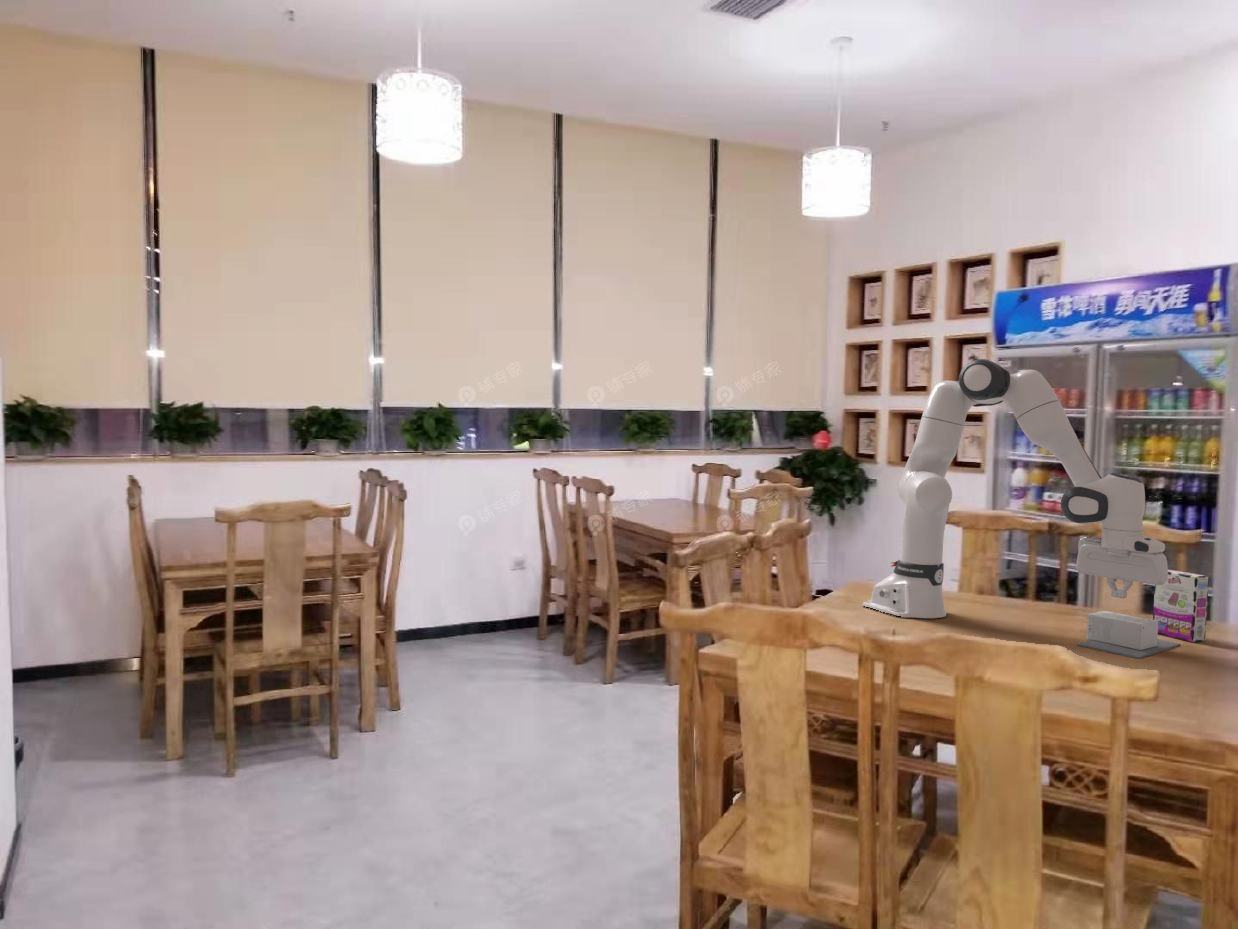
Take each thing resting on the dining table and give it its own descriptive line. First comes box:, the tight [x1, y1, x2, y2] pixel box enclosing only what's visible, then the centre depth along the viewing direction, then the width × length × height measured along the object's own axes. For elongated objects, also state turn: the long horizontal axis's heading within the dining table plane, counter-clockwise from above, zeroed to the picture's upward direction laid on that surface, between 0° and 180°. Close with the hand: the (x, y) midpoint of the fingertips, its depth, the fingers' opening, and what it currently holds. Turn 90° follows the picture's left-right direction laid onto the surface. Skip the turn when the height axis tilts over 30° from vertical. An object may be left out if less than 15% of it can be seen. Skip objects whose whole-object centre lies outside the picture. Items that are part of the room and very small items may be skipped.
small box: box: [1086, 610, 1159, 650], centre depth 225 cm, size 8×6×13 cm
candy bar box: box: [1152, 568, 1210, 643], centre depth 233 cm, size 11×5×16 cm, turn 23°
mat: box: [1077, 638, 1181, 660], centre depth 224 cm, size 14×22×1 cm, turn 127°
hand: (1118, 597), depth 226 cm, fingers closed
